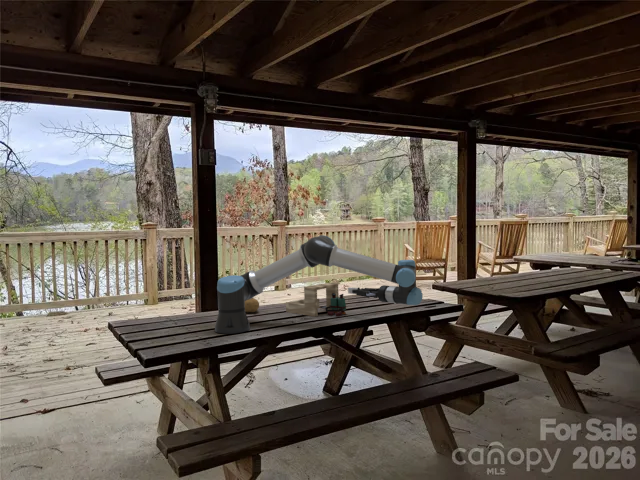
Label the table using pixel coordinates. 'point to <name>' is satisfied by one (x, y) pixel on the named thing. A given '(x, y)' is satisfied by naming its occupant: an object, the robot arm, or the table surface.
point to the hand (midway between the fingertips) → (349, 290)
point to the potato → (251, 305)
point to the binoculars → (336, 305)
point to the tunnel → (312, 299)
